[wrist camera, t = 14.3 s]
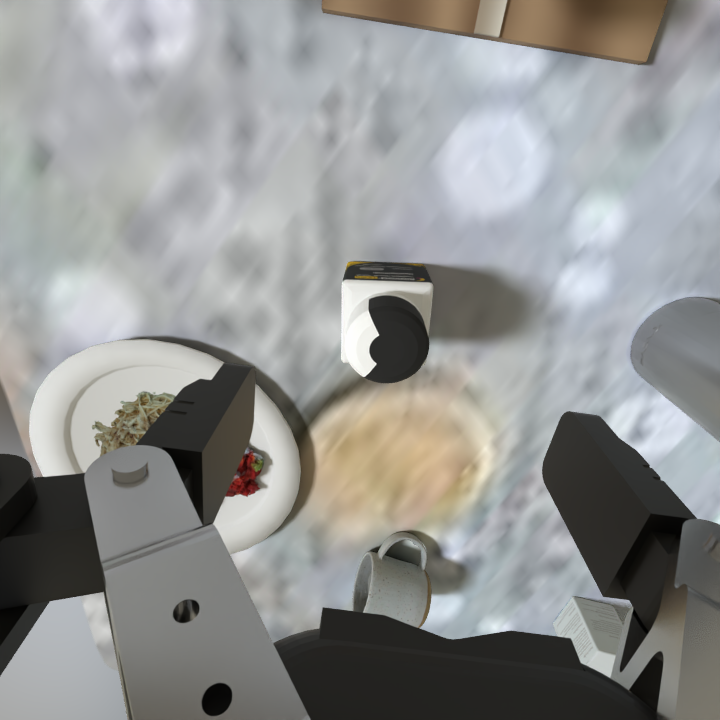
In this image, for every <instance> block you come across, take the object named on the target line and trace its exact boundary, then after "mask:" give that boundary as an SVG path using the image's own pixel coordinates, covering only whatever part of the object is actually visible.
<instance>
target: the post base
mask: <svg viewBox="0 0 720 720" xmlns="http://www.w3.org/2000/svg"><path fill="white" fill-rule="evenodd" d="M667 2H668V0H322V11H323V13H328V14H334V15H341V16H347V17H353V18H359V19H365V20H371V21H377V22H383V23H389V24H395V25H401V26H407V27H413V28H419V29H425V30H431V31H438V32H444V33H450V34H456V35H462V36H468V37H474V38H480V39H486V40H492V41H498V42H504V43H510V44H516V45H522V46H528V47H535V48H541V49H547V50H553V51H559V52H565V53H571V54H577V55H583V56H589V57H595V58H601V59H607V60H613V61H619V62H625V63H632V64H638V65H639V64H642V63H645V62H646V61H647V58H648V56H649V53H650V50H651V47H652V44H653V41H654V39H655V36H656V33H657V30H658V27H659V25H660V22H661V19H662V16H663V13H664V10H665V8H666V5H667Z"/></svg>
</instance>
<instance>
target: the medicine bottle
mask: <svg viewBox="0 0 720 720" xmlns="http://www.w3.org/2000/svg"><path fill="white" fill-rule="evenodd" d="M433 288H434V287H433V283H432V281H431V279H430V277H429V275H428V272H427V270H426V268H425V266H424V265H423V264H409V263H379V262H348V263H347V267H346V270H345V274H344V278H343V282H342V323H341V360H342V361H343V362H344V363H350V364H351V366H352V367H353V368H354V370H355V371H356V372H357V373H359V374H360V375H361V376H363V377H364V378H366V379H368V380H371V381H374V382H378V383H395V382H399V381H402V380H405V379H407V378H409V377H410V376H412V375H413V374H415V373H416V372H417V371H418V370H419V369H420V368H421V366H423V365H425V363H426V357H427V355H428V351H429V328H430V318H431V308H432V298H433Z"/></svg>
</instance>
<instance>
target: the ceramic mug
mask: <svg viewBox="0 0 720 720" xmlns="http://www.w3.org/2000/svg"><path fill="white" fill-rule="evenodd" d="M404 539H407V540H410V541H412V542H413V544H414V545H417V546H418V547H419V548H420V549H421V558H420V562H419V565H418V566H417V565H415V564H412V563H408V562H405V561H401V560H397V559H394V558H392V557H388V556H385V555H384V554H385V553H386V551H387V550H388V549H389V548H390V547H391V546H392V545H393V544H395V543H396V542H399V541H400V540H404ZM426 562H427V554H426V550H425V547H424V546H423V544H422V542H421V541H420V540H419V539H418V538H417V537H416V536H415V535H413V534H410V533H406V532H398V533H395V534H393V535H391V536H389V537H388V538H387V539H386V540H385V541H384V543H383V544H382V546H381V547H380V549H379V551H378V553H375V552H371V551H369V552H366V554H365V555H364V556H363V558H362V560H361V562H360V564H359V567H358V570H357V574H356V578H355V583H354V591H353V611H355V612H363V613H371V614H379V615H386V616H388V617H391V618H393V619H396V620H399V621H401V622H404V623H406V624H409V625H412V626H414V627H417V628H420V627H421V626H422V625H423V624H424V622H425V620H426V618H427V616H428V613H429V609H430V604H431V583H430V579H429V576H428V574H427V573H426V571H425V567H426Z"/></svg>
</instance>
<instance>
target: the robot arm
mask: <svg viewBox="0 0 720 720" xmlns="http://www.w3.org/2000/svg"><path fill="white" fill-rule="evenodd" d="M631 361H632V364H633V366H634V369H635V371H636V372H637V373H638V374H639V375H640V376H641V377H642V378H643V379H644V380H646V381H647V382H648V383H649V384H650V385H652V386H653V387H654V388H655V389H656V390H658V391H659V392H660V393H661V394H662V395H663V396H665V397H666V398H667V399H668V400H669V401H671V402H672V403H673V404H674V405H675V406H677V407H678V408H679V409H680V410H682V411H683V412H684V413H685V414H686V415H688V416H689V417H690V418H691V419H692V420H694V421H695V422H696V423H697V424H698V425H700V426H701V427H702V428H703V429H705V430H706V431H707V432H708V433H709V434H711V435H712V436H713V437H714V438H715V439H717V440H718V441H719V442H720V303H717V302H715V301H712V300H710V299H706V298H699V297H696V298H685V299H681V300H676V301H674V302H672V303H669V304H667V305H665V306H663V307H662V308H660V309H658V310H657V311H655V312H654V313H653V314H652V315H651V316H649V317H648V318H647V319H646V320H645V322H644V323H643V324H642V325H641V326H640V328H639V329H638V331H637V333H636V335H635V336H634V339H633V342H632V345H631ZM255 382H256V371H255V367H253V366H246V365H238V364H231V363H224V364H223V365H222V366H221V367H220V369H219V370H218V372H217V373H216V374H215V376H214V377H213V378H212V380H207V379H198V380H197V381H195V382H193V383H191V384H189V385H187V386H185V387H183V388H182V390H181V391H180V392H179V393H178V394H177V396H176V397H175V398H174V399H173V402H171V403H170V404H169V405H168V406H167V408H166V409H165V412H162V414H161V415H160V416H159V417H158V418H157V420H156V421H155V422H154V423H153V424H152V426H151V427H150V428H149V429H148V430H147V432H146V433H145V434H144V435H143V436H142V438H141V439H140V440H139V441H138V442H137V444H136V445H135V446H127V447H122V448H119V449H115V450H113V451H110V452H108V453H106V454H104V455H102V456H101V457H99V458H97V459H96V460H95V461H94V462H93V463H92V464H91V465H90V466H89V467H88V469H87V471H86V473H80V474H71V475H59V476H48V477H37V478H34V477H33V472H32V468H31V465H30V463H29V462H28V461H27V460H26V459H24V458H22V457H19V456H16V455H10V454H0V675H1V674H2V672H3V671H4V669H5V668H6V666H7V665H8V663H9V662H10V660H11V659H12V657H13V656H14V654H15V653H16V651H17V650H18V648H19V647H20V645H21V644H22V642H23V641H24V639H25V638H26V636H27V635H28V633H29V632H30V630H31V628H32V627H33V626H34V624H35V623H36V621H37V620H38V618H39V617H40V615H41V614H42V612H43V611H44V609H45V608H46V606H47V605H48V603H49V601H53V600H59V599H65V598H71V597H77V596H83V595H88V594H94V593H100V592H103V593H104V598H105V603H106V608H107V613H108V618H109V624H110V629H111V634H112V639H113V644H114V649H115V654H116V659H117V665H118V670H119V675H120V679H121V685H122V691H123V696H124V702H125V707H126V713H127V718H128V720H720V525H719V524H717V523H714V522H711V521H707V520H702V519H697V518H696V517H695V516H694V515H693V514H692V512H691V511H690V510H689V509H688V508H687V507H686V506H685V505H684V503H683V502H682V501H681V500H680V499H679V498H678V497H677V496H676V494H675V493H674V492H673V491H672V490H671V489H670V488H669V487H668V485H667V484H666V483H665V482H664V481H661V480H660V476H659V475H658V474H657V473H656V472H655V471H654V470H653V469H652V468H650V467H649V466H650V465H649V464H648V463H647V462H646V461H645V460H644V458H643V457H642V456H641V455H640V454H639V453H638V452H637V451H636V450H635V449H633V448H632V447H631V446H629V445H628V444H626V443H625V442H624V441H622V440H621V439H619V438H618V436H617V435H616V434H615V433H614V432H613V431H612V430H611V428H610V427H609V426H608V425H607V424H606V423H605V421H604V420H603V419H602V418H601V417H600V416H597V415H591V414H584V413H577V412H570V411H569V412H566V413H564V414H563V415H562V417H561V419H560V421H559V423H558V426H557V428H556V431H555V433H554V436H553V438H552V441H551V443H550V446H549V448H548V451H547V453H546V456H545V458H544V461H543V468H542V474H543V480H544V483H545V485H546V487H547V489H548V491H549V493H550V495H551V497H552V499H553V501H554V503H555V505H556V506H557V508H558V510H559V512H560V514H561V516H562V518H563V520H564V522H565V524H566V526H567V528H568V530H569V532H570V534H571V535H572V537H573V539H574V541H575V543H576V545H577V547H578V549H579V551H580V553H581V555H582V557H583V559H584V561H585V563H586V564H587V566H588V568H589V570H590V572H591V574H592V576H593V578H594V580H595V582H596V584H597V586H598V588H599V590H600V592H601V593H602V595H603V597H610V598H618V599H626V600H630V602H631V604H632V607H631V608H630V610H629V612H628V613H627V615H626V617H625V620H624V625H623V629H622V633H621V637H620V641H619V645H618V649H617V653H616V657H615V661H614V665H613V669H612V673H611V677H610V678H609V677H608V676H606V675H604V674H603V673H601V672H599V671H597V670H595V669H593V668H591V667H589V666H587V665H584V664H582V663H581V662H580V659H579V657H578V655H577V652H576V650H575V647H574V645H573V642H572V640H571V638H565V637H557V636H549V635H541V634H533V633H525V632H517V631H506V632H500V633H494V634H487V635H481V636H475V637H469V638H462V639H454V640H452V639H446V638H443V637H441V636H438V635H435V634H433V633H430V632H427V631H425V630H422V629H420V628H417V627H414V626H412V625H409V624H406V623H404V622H401V621H399V620H396V619H393V618H391V617H388V616H386V615H379V614H371V613H363V612H355V611H347V610H339V609H331V608H323V610H322V616H321V622H320V629H314V630H308V631H304V632H301V633H298V634H294V635H291V636H288V637H286V638H284V639H281V640H279V641H277V642H275V643H273V642H272V640H271V638H270V636H269V634H268V632H267V630H266V628H265V626H264V624H263V622H262V619H261V617H260V615H259V613H258V611H257V609H256V607H255V605H254V603H253V601H252V599H251V597H250V595H249V593H248V591H247V589H246V587H245V585H244V583H243V581H242V579H241V577H240V574H239V572H238V570H237V568H236V566H235V564H234V562H233V560H232V558H231V556H230V554H229V552H228V550H227V548H226V546H225V544H224V542H223V540H222V538H221V536H220V534H219V532H218V530H217V528H216V527H215V526H214V524H213V523H214V521H215V518H216V516H217V514H218V512H219V509H220V507H221V505H222V503H223V500H224V498H225V496H226V494H227V491H228V489H229V487H230V484H231V482H232V480H233V478H234V475H235V473H236V471H237V469H238V466H239V464H240V462H241V460H242V457H243V455H244V453H245V451H246V448H247V446H248V444H249V441H250V438H251V434H252V430H253V423H254V406H255Z"/></svg>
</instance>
